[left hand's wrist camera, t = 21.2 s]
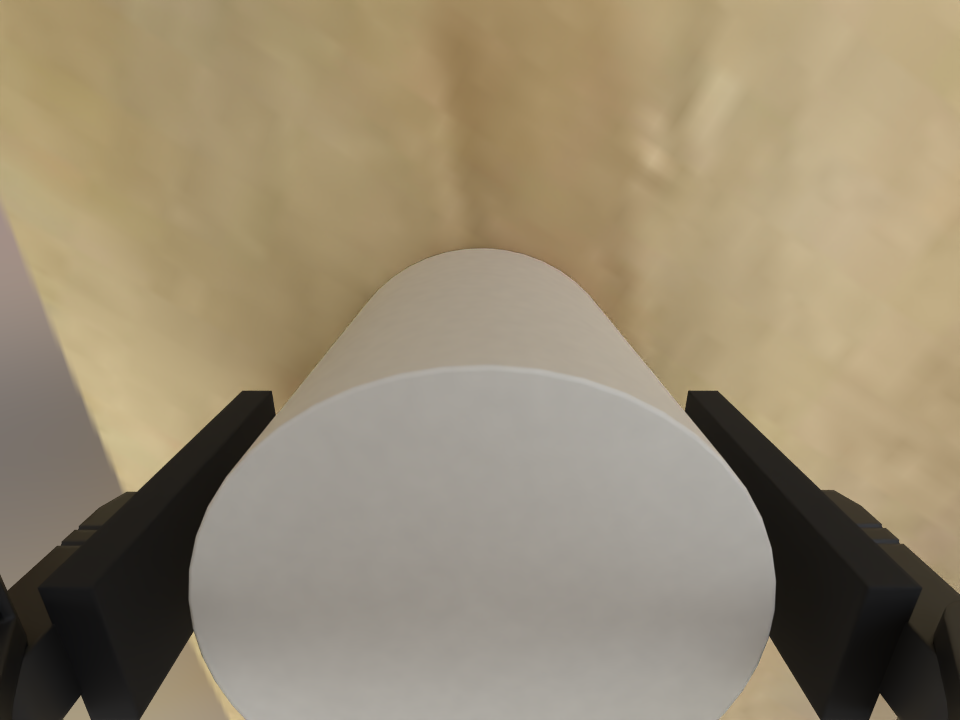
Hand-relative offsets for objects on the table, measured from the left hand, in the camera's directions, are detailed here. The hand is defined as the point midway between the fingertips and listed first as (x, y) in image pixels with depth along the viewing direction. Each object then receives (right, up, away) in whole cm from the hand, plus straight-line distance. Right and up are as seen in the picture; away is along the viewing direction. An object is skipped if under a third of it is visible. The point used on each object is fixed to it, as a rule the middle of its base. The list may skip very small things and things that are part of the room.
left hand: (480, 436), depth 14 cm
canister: (0, +1, +3) cm, 3 cm away
